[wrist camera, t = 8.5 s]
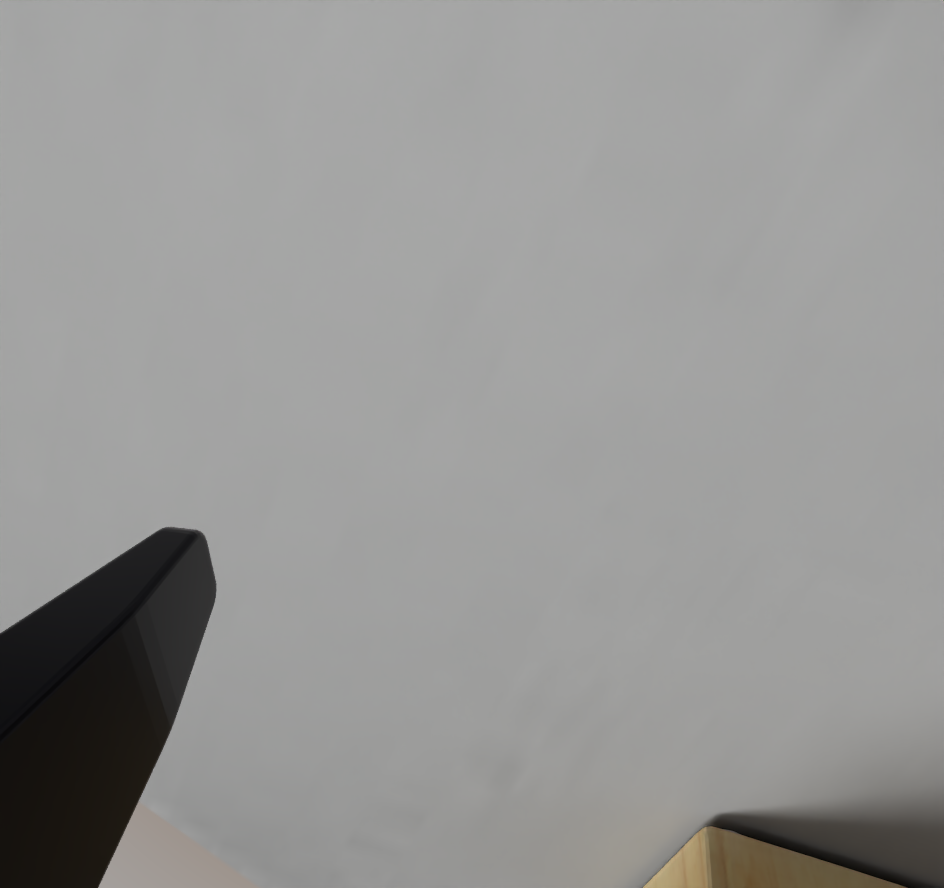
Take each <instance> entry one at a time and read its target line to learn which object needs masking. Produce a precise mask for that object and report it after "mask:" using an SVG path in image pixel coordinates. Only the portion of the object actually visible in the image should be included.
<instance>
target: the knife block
mask: <svg viewBox="0 0 944 888" xmlns="http://www.w3.org/2000/svg"><path fill="white" fill-rule="evenodd" d="M643 888H907V887H904V886H901V885H898V884H895V883H892V882H888V881H885V880H882V879H879V878H876V877H873V876H870V875H867V874H864V873H861V872H858V871H855V870H852V869H848V868H845V867H842V866H839V865H836V864H832V863H829V862H826V861H823V860H820V859H816V858H813V857H810V856H807V855H804V854H801V853H797V852H794V851H791V850H788V849H785V848H781V847H778V846H775V845H772V844H769V843H765V842H762V841H759V840H756V839H753V838H749V837H746V836H743V835H740V834H738V833H737V832H735V831H731V830H727V829H720V828H716V827H713V826H710V827H704V828H702V829H701V830H700V831H699V832H697V833H696V834H695V835H694V836H693V837H692V838H691V839H690V840H689V841H688V842H687V843H686V844H685V845H684V846H683V848H682V849H681V850H680V851H679V852H678V853H677V854H676V855H675V856H674V857H673V858H672V859H671V860H670V861H669V862H668V863H667V864H666V865H665V866H664V867H663V868H662V869H661V870H660V871H659V872H658V873H657V874H656V875H655V876H654V877H653V878H652V879H651V880H650V881H649V882H648V883H647V884H646V885H645V886H644V887H643Z"/></svg>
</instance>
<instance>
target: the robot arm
mask: <svg viewBox="0 0 944 888" xmlns="http://www.w3.org/2000/svg"><path fill="white" fill-rule="evenodd" d="M215 598H216V580H215V575H214V571H213V567H212V562H211V558H210V553H209V549H208V544H207V540H206V538H205V536H204V534H203V533H202V532H200V531H198V530H193V529H185V528H176V527H165V528H162V529H160V530H158V531H157V532H155V533H154V534H152V535H151V536H149V537H148V538H146V539H144V540H143V541H141V542H140V543H138V544H137V545H135V546H134V547H132V548H131V549H129V550H128V551H126V552H124V553H123V554H121V555H120V556H118V557H117V558H115V559H114V560H112V561H111V562H109V563H108V564H106V565H105V566H103V567H101V568H100V569H98V570H97V571H95V572H94V573H92V574H91V575H89V576H88V577H86V578H85V579H83V580H81V581H80V582H78V583H77V584H75V585H74V586H72V587H71V588H69V589H68V590H66V591H65V592H63V593H62V594H60V595H58V596H57V597H55V598H54V599H52V600H51V601H49V602H48V603H46V604H45V605H43V606H42V607H40V608H38V609H37V610H35V611H34V612H32V613H31V614H29V615H28V616H26V617H25V618H23V619H22V620H20V621H19V622H17V623H15V624H14V625H12V626H11V627H9V628H8V629H6V630H5V631H3V632H2V633H0V888H98V887H99V884H100V883H101V880H102V878H103V876H104V874H105V872H106V870H107V868H108V865H109V863H110V861H111V859H112V857H113V855H114V853H115V850H116V848H117V846H118V844H119V842H120V840H121V837H122V835H123V833H124V831H125V829H126V827H127V824H128V823H129V820H130V818H131V816H132V814H133V812H134V810H135V807H136V805H137V803H138V801H139V799H140V797H141V795H142V793H143V790H144V788H145V786H146V784H147V782H148V780H149V778H150V775H151V773H152V771H153V769H154V767H155V765H156V763H157V760H158V758H159V756H160V754H161V752H162V750H163V747H164V745H165V743H166V740H167V738H168V736H169V734H170V731H171V729H172V726H173V723H174V721H175V718H176V715H177V712H178V710H179V707H180V704H181V701H182V698H183V695H184V692H185V689H186V686H187V683H188V680H189V677H190V674H191V671H192V668H193V665H194V662H195V659H196V657H197V654H198V651H199V648H200V645H201V642H202V639H203V636H204V633H205V630H206V627H207V624H208V621H209V618H210V615H211V612H212V609H213V606H214V603H215Z"/></svg>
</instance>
